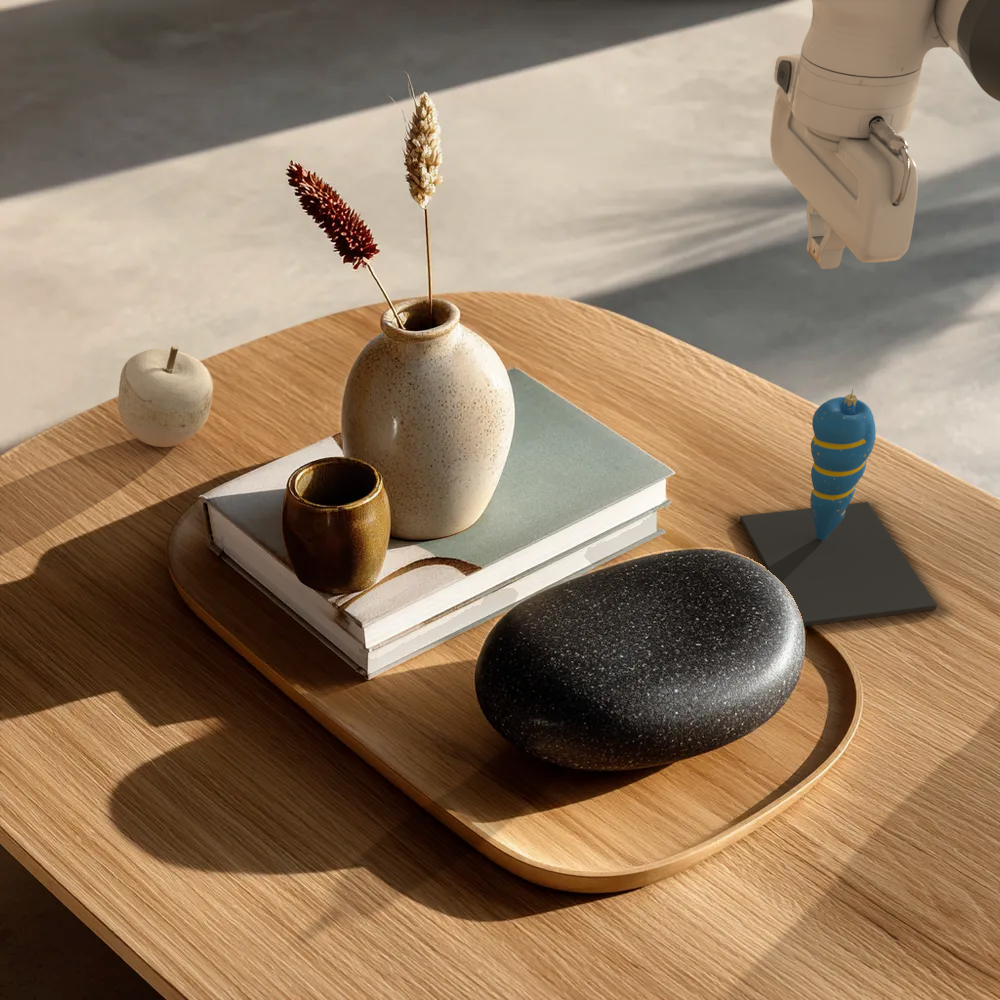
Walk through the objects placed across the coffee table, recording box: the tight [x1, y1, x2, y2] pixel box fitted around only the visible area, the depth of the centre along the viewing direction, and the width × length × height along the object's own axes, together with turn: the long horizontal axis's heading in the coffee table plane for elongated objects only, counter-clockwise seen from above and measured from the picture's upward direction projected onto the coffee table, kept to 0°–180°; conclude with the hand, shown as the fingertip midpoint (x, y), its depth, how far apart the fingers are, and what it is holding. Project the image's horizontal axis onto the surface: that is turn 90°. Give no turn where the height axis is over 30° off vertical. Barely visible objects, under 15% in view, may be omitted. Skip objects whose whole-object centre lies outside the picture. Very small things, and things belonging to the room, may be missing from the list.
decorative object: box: [117, 345, 214, 448], centre depth 123 cm, size 9×9×10 cm
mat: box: [739, 501, 938, 627], centre depth 113 cm, size 12×14×1 cm
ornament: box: [809, 389, 877, 540], centre depth 111 cm, size 5×5×15 cm
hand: (822, 260), depth 109 cm, fingers closed
